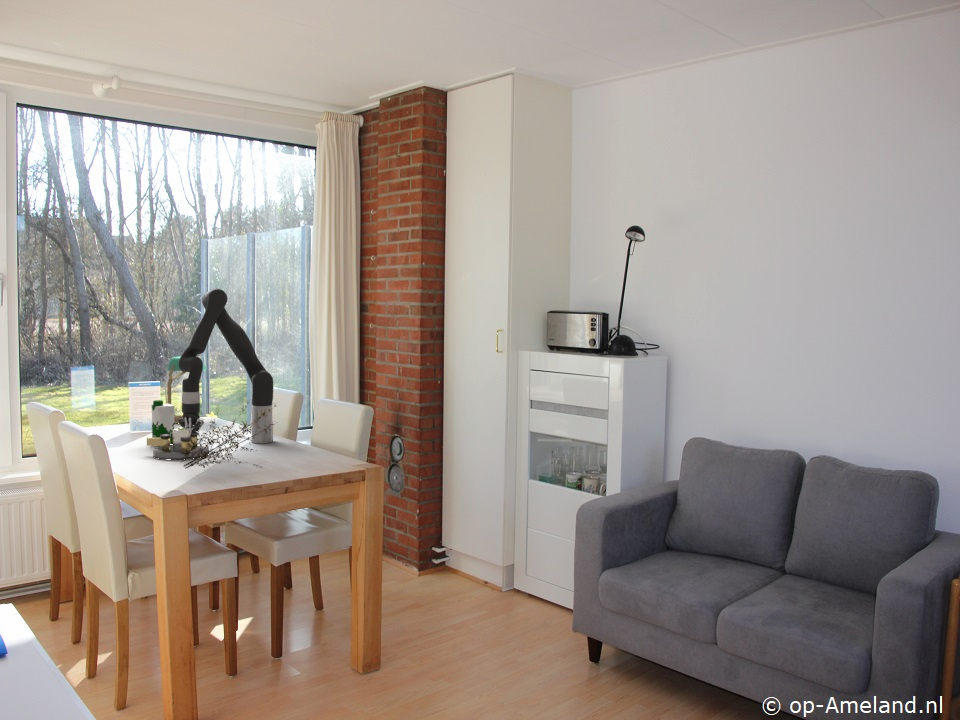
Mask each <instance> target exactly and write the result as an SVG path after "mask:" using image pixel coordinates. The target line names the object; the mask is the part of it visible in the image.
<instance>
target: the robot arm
mask: <svg viewBox="0 0 960 720" xmlns="http://www.w3.org/2000/svg"><path fill="white" fill-rule="evenodd" d="M201 303H202V306H203V308H204V310H205V311H204V314H203V316H202V318H201V320H200V321H199V323H198V324H197V326H196V328H195V329H194V332H193V334H192V336H191V339H190V342H189V344H188V346H187V347H186V349H184V351H183V353H182V354H181V355H180V356H181V357H180V359H179V368H180V370H181V371H180V372H182V371H183V372H186V373H188V377H185V378H183V379H182V383H181V385H182V386H181V389H182V392H181V413H182V415H181V416H182V418H181V419H179V420H178V421H179V423H180V424H179V426H180V427H185V428H190V432H198V431H199V432H200V429H201V428H202V426H203V424H204V422H205V421H204V420H203V421H201V420H202V419H200V418H201V417H200V413H201V394H200V381H201V378H202V373H203V371H204V370H203V364H204V362H203V360H202V358H200V357H199V355H200V354H203V353H205V351H206V349H207V345H208V344H209V341H210V338H211V335H212V333H213V330H214V328H215V325H216V326H217V327H218V329H219V331H220V333H221V334H222V336H223V338H224V340H225V341H226V343H227V344H228V346H229V348H230V350H231V352H232V353H233V354H234V355H235V357H236V358H237V360H238V361H239V362H240V363H241V365H242V366H243V367H244V370H245V371H246V374H247V375H248V378H249V381H250V383H251V385H252V394H251V395H252V398H251V423H252V424H251V430H252V431H251V436H253V435H255V434H256V435H255V436H253V437H254V438H255V439H251V440H252V441H251V443H254V444H267V443H268V444H271V443H272V442H273V441H274V425H271V424H274V420H273V401H274V378H273V376H272V374H271V373H269V372H268V370H267V369H265V367H264V365H263V364H262V363H261V360H260V359H259V358H258V356H257V354H256V350H255V347H254V345H253V343H252V342H251V339H250V338H249V336H248V335H247V333H246V330H244V328H243V327H242V326H241V325H240V324H239V323H238V322H237V321H235V320H234V319H233V318H232V317H231V316H230V315H229V312H228V311H227V309H226V308H225V307H226V305H227V303H228V295H227V293H226V291H224V290H223V289H221V288H214V289H211V290H209V291H207V292H204V294H202V297H201ZM268 406H269V407H268ZM267 408H268V409H267ZM264 409H265V410H264ZM269 409H270V411H272V412H268V411H269ZM261 410H262V414H263V413H264V412H265V413H266V414H265V415H268V416H265V415H264V417H263V415H262V414H261ZM257 413H258V415H257ZM261 415H262V416H261ZM260 416H261V418H260V419H259V420H258V418H259V417H260ZM255 420H256V421H257V420H258V421H257V422H256V421H255ZM254 421H255V422H256V423H255V422H254ZM253 422H254V423H253ZM269 423H270V424H269ZM264 425H266V426H268V427H269V426H270V425H271V426H270V427H269V428H268V427H264ZM258 427H260V428H261V429H260V428H258ZM266 428H268V429H267V430H266V431H267V433H266V432H265V430H264V431H263V429H266ZM269 429H270V431H269ZM261 431H262V432H261ZM259 432H260V433H259ZM257 433H258V434H257ZM253 437H251V438H253Z"/></svg>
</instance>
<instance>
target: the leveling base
mask: <svg viewBox="0 0 960 720" xmlns="http://www.w3.org/2000/svg"><path fill="white" fill-rule="evenodd" d="M181 437H190V428H186V427H181V426H180V427H177V428H175V427H174V429H173V445H170V450H161V447H160V448H156V449H155V450H153V458H154V457H155V459H156V458H159V459H158V460H161V459H171V460H170V461H185V460H184V459H185V458H184V457H186V456H185V455H183V454H186V455H187V457H190V456H191V455H192V454H191V453H189V455H188V453H181V440H180V438H181ZM197 446H198V447H197V448H194V449H195V450H194V449H193V451H196V452H197V451H198V450H199V451H200V448H201V446H200V445H197ZM199 446H200V447H199ZM205 447H206V448H205ZM204 448H205V449H204ZM202 449H204V450H203V451H202V453H204V451H205V452H208V450H209V451H210V448H208V449H207V446H203V448H202ZM206 449H207V450H206ZM193 451H191V452H193ZM200 452H201V451H200ZM200 452H199V453H200ZM194 453H195V452H193V454H194ZM197 453H198V452H197ZM195 454H196V453H195ZM195 454H194V455H193V457H194V458H196V456H197V455H198V454H196V455H195ZM204 454H205V453H204ZM206 455H208V454H206ZM200 456H202V454H200ZM200 456H199V457H200ZM193 457H192V456H191V457H190V458H191V460H194V459H193ZM202 457H203V456H202ZM182 458H183V459H182ZM197 458H198V456H197ZM203 458H204V457H203ZM180 459H182V460H180ZM186 459H187V458H186Z"/></svg>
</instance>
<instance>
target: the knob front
mask: <svg viewBox="0 0 960 720" xmlns="http://www.w3.org/2000/svg"><path fill="white" fill-rule="evenodd" d="M170 438H171V434H162V435H160V438H152V437H146V446H147V447H154V446H155V447H157V446H159V447H160V448H161V450H170V446H171V445H170Z"/></svg>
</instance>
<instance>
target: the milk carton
mask: <svg viewBox="0 0 960 720" xmlns="http://www.w3.org/2000/svg"><path fill="white" fill-rule="evenodd" d="M152 402H153V403H152V404H151V405H150V407H151V435H152V436H151V438H160V435H162V434H171V438H170V444H173V429H175V424H174V414H175V405H174V404H172V403H171V404H167V403H164V401H163V400H162V399H160V400H159V399H157V400H153V401H152Z"/></svg>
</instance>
